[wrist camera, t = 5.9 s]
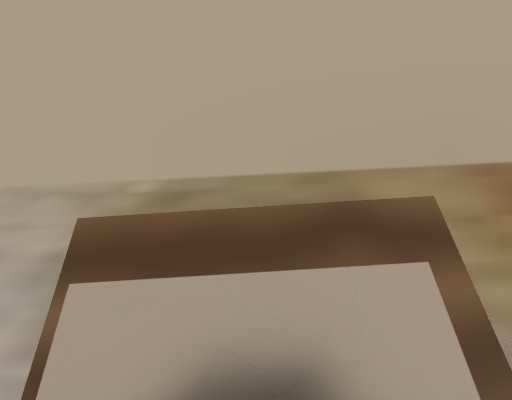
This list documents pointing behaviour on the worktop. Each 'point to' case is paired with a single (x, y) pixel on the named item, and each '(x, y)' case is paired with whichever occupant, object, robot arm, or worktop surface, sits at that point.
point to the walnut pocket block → (283, 260)
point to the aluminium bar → (260, 338)
